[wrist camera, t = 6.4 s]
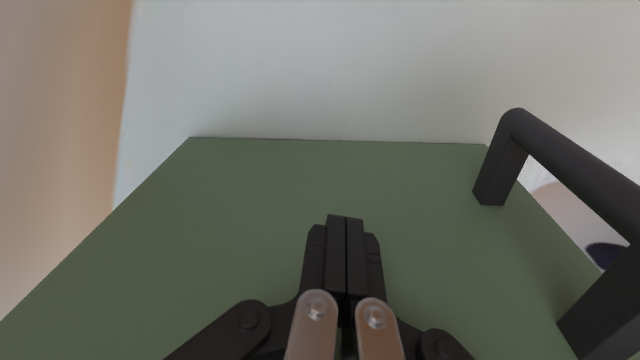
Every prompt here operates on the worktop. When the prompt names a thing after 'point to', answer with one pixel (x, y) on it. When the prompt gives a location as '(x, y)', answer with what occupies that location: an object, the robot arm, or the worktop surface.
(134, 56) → the worktop surface
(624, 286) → the cupboard door
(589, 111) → the worktop surface
